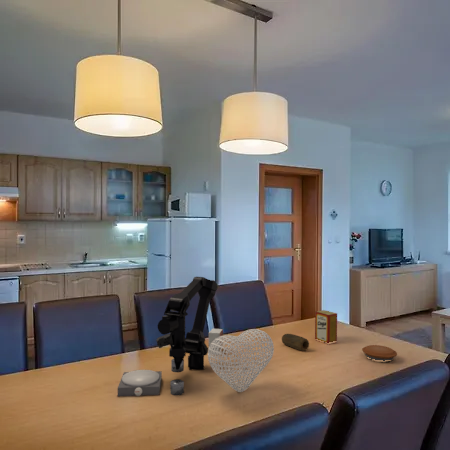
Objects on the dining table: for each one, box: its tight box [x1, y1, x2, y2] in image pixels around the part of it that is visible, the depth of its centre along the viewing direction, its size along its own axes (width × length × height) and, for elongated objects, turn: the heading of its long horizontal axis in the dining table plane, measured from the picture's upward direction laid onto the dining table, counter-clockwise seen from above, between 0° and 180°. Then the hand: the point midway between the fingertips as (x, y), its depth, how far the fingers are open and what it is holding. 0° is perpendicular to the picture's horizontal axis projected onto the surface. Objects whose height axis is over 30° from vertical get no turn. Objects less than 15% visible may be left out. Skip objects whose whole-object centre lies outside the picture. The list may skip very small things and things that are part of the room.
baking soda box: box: [314, 309, 338, 343], centre depth 215 cm, size 10×6×16 cm
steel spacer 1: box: [170, 358, 185, 373], centre depth 160 cm, size 5×5×4 cm
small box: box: [208, 328, 224, 356], centre depth 194 cm, size 8×6×10 cm
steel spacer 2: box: [169, 378, 185, 396], centre depth 148 cm, size 5×5×4 cm
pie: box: [361, 344, 398, 361], centre depth 188 cm, size 16×16×5 cm
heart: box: [207, 328, 275, 393], centre depth 149 cm, size 28×16×22 cm, turn 130°
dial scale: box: [117, 369, 163, 397], centre depth 152 cm, size 15×16×4 cm
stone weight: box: [281, 333, 310, 352], centre depth 203 cm, size 15×7×7 cm, turn 38°
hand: (177, 366), depth 160 cm, fingers closed on steel spacer 1, 5 cm apart
